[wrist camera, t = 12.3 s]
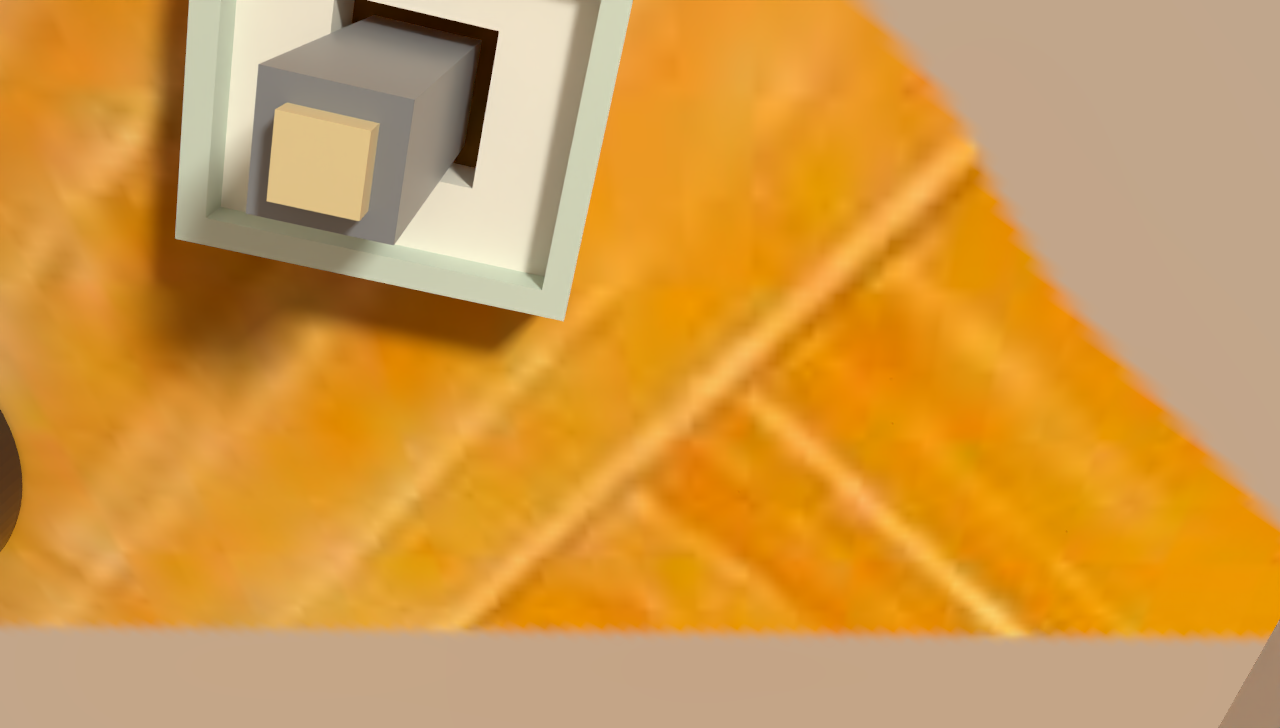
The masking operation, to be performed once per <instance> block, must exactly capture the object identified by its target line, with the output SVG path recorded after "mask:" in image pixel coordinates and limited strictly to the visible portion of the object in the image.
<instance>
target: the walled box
mask: <svg viewBox="0 0 1280 728" xmlns="http://www.w3.org/2000/svg"><path fill="white" fill-rule="evenodd" d="M369 1H373V2H377V3H381V4H386V5H390V6H394V7H398V8H402V9H407V10H411V11H415V12H419V13H424V14H428V15H432V16H436V17H441V18H445V19H449V20H453V21H458V22H462V23H466V24H470V25H475V26H479V27H483V28H487V29H492V30H496V31H499V35H498V41H497V47H496V53H495V59H494V65H493V71H492V77H491V82H490V88H489V94H488V100H487V106H486V112H485V118H484V123H483V129H482V135H481V141H480V147H479V153H478V159H477V165H476V168H474V167H469V166H465V165H461V164H456V163H452V164H451V166H450V167H449V168H448V170H447V171H446V173H445V174H444V175H443V177H442V178H441V180H440V181H439V183H438V184H437V185H436V187H435V188H434V190H433V191H432V192H431V194H430V195H429V197H428V198H427V199H426V201H425V202H424V204H423V205H422V207H421V208H420V209H419V211H418V212H417V214H416V215H415V216H414V218H413V219H412V221H411V222H410V223H409V225H408V226H407V228H406V229H405V230H404V232H403V233H402V235H401V236H400V238H399V239H398V240H397V242H396V243H395V245H389V244H385V243H380V242H375V241H371V240H366V239H362V238H357V237H352V236H348V235H343V234H338V233H334V232H329V231H324V230H320V229H315V228H310V227H306V226H301V225H297V224H292V223H287V222H283V221H278V220H273V219H269V218H264V217H259V216H255V215H250V214H246V204H247V192H248V180H249V169H250V157H251V146H252V134H253V122H254V111H255V99H256V87H257V76H258V64H260V63H262V62H265V61H267V60H269V59H272V58H274V57H276V56H279V55H281V54H283V53H286V52H288V51H291V50H293V49H295V48H298V47H300V46H302V45H305V44H307V43H309V42H312V41H314V40H316V39H319V38H321V37H323V36H326V35H328V34H330V33H333V32H335V31H337V30H340V29H342V28H344V27H347V26H349V25H351V24H352V19H353V10H354V2H355V0H189V11H188V28H187V44H186V61H185V78H184V95H183V112H182V129H181V145H180V162H179V179H178V196H177V213H176V229H175V239H179V240H183V241H188V242H193V243H198V244H202V245H207V246H212V247H216V248H221V249H226V250H231V251H235V252H240V253H245V254H249V255H254V256H259V257H264V258H268V259H273V260H278V261H282V262H287V263H292V264H297V265H301V266H306V267H311V268H315V269H320V270H325V271H330V272H334V273H339V274H344V275H348V276H353V277H358V278H363V279H367V280H372V281H377V282H381V283H386V284H391V285H396V286H400V287H405V288H410V289H414V290H419V291H424V292H429V293H433V294H438V295H443V296H447V297H452V298H457V299H462V300H466V301H471V302H476V303H480V304H485V305H490V306H495V307H499V308H504V309H509V310H513V311H518V312H523V313H528V314H532V315H537V316H542V317H546V318H551V319H556V320H561V321H564V318H565V313H566V309H567V304H568V299H569V295H570V290H571V285H572V281H573V276H574V272H575V267H576V262H577V258H578V253H579V248H580V244H581V239H582V234H583V230H584V225H585V220H586V216H587V211H588V207H589V202H590V197H591V193H592V188H593V183H594V179H595V174H596V169H597V165H598V160H599V155H600V151H601V146H602V142H603V137H604V132H605V128H606V123H607V118H608V114H609V109H610V104H611V100H612V95H613V90H614V86H615V81H616V77H617V72H618V67H619V63H620V58H621V53H622V49H623V44H624V39H625V35H626V30H627V25H628V21H629V16H630V12H631V7H632V2H633V0H369Z"/></svg>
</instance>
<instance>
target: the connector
mask: <svg viewBox="0 0 1280 728" xmlns="http://www.w3.org/2000/svg"><path fill="white" fill-rule="evenodd" d="M481 43H482V40H479V39H475V38H471V37H466V36H462V35H458V34H454V33H449V32H445V31H441V30H437V29H432V28H428V27H424V26H420V25H415V24H411V23H407V22H403V21H398V20H394V19H390V18H385V17H381V16H377V15H372V16H370V17H368V18H365V19H363V20H361V21H358V22H356V23H354V24H351V25H349V26H347V27H344V28H342V29H340V30H337V31H335V32H333V33H330V34H328V35H326V36H323V37H321V38H319V39H316V40H314V41H312V42H309V43H307V44H305V45H302V46H300V47H298V48H295V49H293V50H291V51H288V52H286V53H283V54H281V55H279V56H276V57H274V58H272V59H269V60H267V61H265V62H262V63H260V64H258V76H257V87H256V99H255V111H254V122H253V134H252V146H251V157H250V169H249V180H248V192H247V204H246V214H250V215H255V216H259V217H264V218H269V219H273V220H278V221H283V222H287V223H292V224H297V225H301V226H306V227H310V228H315V229H320V230H324V231H329V232H334V233H338V234H343V235H348V236H352V237H357V238H362V239H366V240H371V241H375V242H380V243H385V244H389V245H395V243H396V242H397V240H398V239H399V238H400V236H401V235H402V233H403V232H404V230H405V229H406V228H407V226H408V225H409V223H410V222H411V221H412V219H413V218H414V216H415V215H416V214H417V212H418V211H419V209H420V208H421V207H422V205H423V204H424V202H425V201H426V199H427V198H428V197H429V195H430V194H431V192H432V191H433V190H434V188H435V187H436V185H437V184H438V183H439V181H440V180H441V178H442V177H443V175H444V174H445V173H446V171H447V170H448V168H449V167H450V166H451V164H452V163H453V161H454V160H455V159H456V157H457V156H458V154H459V153H460V152H461V150H462V149H463V147H464V146H465V140H466V134H467V128H468V122H469V116H470V110H471V104H472V98H473V92H474V86H475V80H476V74H477V68H478V62H479V56H480V49H481Z"/></svg>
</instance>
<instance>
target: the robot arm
mask: <svg viewBox="0 0 1280 728" xmlns="http://www.w3.org/2000/svg"><path fill="white" fill-rule="evenodd" d="M21 499H22V473H21V465H20V460H19V455H18V451H17V448H16V444H15V441H14V438H13V436H12V433H11V431H10V428H9V426H8V424H7V422H6V420H5V417H4V416H3V414H2V412H1V410H0V551H1V550H2V549H3V547H4V546H5V544H6V543H7V541H8V539H9V538H10V536H11V534H12V531H13V529H14V527H15V524H16V521H17V518H18V515H19V511H20V506H21ZM1219 728H1280V620H1279V622H1278V624H1277V625H1276V627H1275V629H1274V631H1273V632H1272V634H1271V636H1270V638H1269V639H1268V641H1267V643H1266V645H1265V646H1264V648H1263V650H1262V652H1261V654H1260V655H1259V657H1258V659H1257V661H1256V662H1255V664H1254V666H1253V668H1252V669H1251V671H1250V673H1249V675H1248V677H1247V678H1246V680H1245V682H1244V684H1243V685H1242V687H1241V689H1240V691H1239V692H1238V694H1237V696H1236V698H1235V699H1234V701H1233V703H1232V705H1231V707H1230V708H1229V710H1228V712H1227V713H1226V715H1225V717H1224V719H1223V721H1222V722H1221V724H1220V726H1219Z"/></svg>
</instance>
